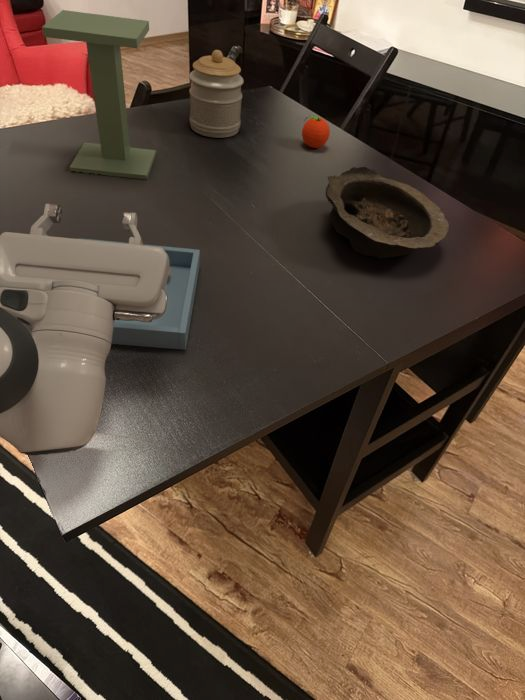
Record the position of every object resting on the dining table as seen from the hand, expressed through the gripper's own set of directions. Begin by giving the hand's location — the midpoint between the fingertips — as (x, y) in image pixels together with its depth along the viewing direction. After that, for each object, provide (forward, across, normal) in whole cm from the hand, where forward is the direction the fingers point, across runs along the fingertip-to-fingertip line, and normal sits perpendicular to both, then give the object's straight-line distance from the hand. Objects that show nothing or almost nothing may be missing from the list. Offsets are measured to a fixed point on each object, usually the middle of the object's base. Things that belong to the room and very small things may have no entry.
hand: (92, 210), depth 60 cm
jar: (+53, -10, +52) cm, 75 cm away
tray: (-6, -2, +18) cm, 18 cm away
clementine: (+50, -35, +50) cm, 79 cm away
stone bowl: (+16, -46, +30) cm, 57 cm away
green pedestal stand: (+32, +10, +40) cm, 52 cm away
